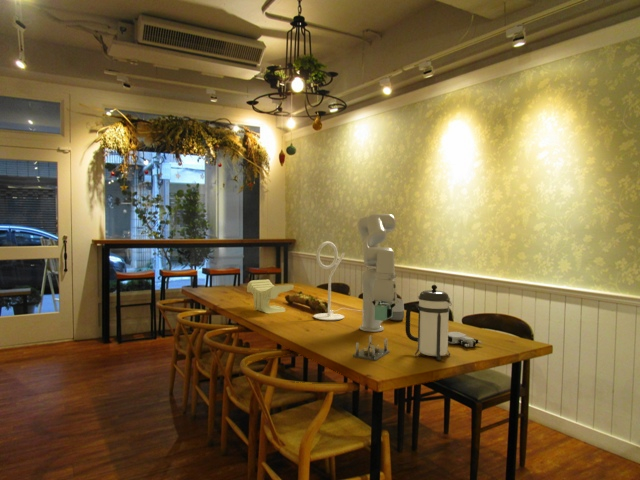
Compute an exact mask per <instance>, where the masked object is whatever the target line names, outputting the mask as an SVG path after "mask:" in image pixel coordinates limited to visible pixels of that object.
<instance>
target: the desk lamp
mask: <svg viewBox="0 0 640 480" xmlns="http://www.w3.org/2000/svg"><path fill="white" fill-rule="evenodd" d="M325 246H329V247H331V248H332V250H333V252H334V255H333V256H334V257H333V260H332V262H331V263H330V264H328V265H326V264H324V263H323V261H322V260H321V257H320V256H321V251H322V249H323V248H324V247H325ZM345 254H346V253H345V252H342V253H341V254H340V256H339V252H338V248H337V246H336V245H335V243H333V242H332V241H329V240H328V241H327V240H326V241H323V242H321V243H320V244H319V245H318V248H317V249H316V254H315V258H316V262H317V265H319V267H320V268H322V269H324V270H329V269H332V270H331V271H330V274H328V277H327V278H328V279H327V281H328V282H327V283H328V284H327V285H328V286H327V312H323V313H322V312H320V313H315V314H314V315H313V318H315V319H316V320H319V321H325V322H326V321H329V322H331V321H334V322H335V321H340V320H342V319H345V315H344V314H339V313H334V312H335V310H333V309H332V310H331V307H332V306H331V305H332V304H331V303H332V301H331V300H332V297H331V296H332V277H333V275H334V273H335V272H336V270H337V268H338V266H339V265H340V263H341V262H342V260H343V259H344V257H345ZM341 309H343V307H341V308H339V309H336V312H339V311H340V310H341ZM344 309H345V310H346V309H347V310H348V308H346V307H344ZM349 310H350V311H354V308H353V309H351V308H349ZM356 311H359V312H362V310H359V309H356Z"/></svg>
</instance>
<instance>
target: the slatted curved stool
mask: <svg viewBox="0 0 640 480" xmlns="http://www.w3.org/2000/svg"><path fill="white" fill-rule="evenodd" d="M294 286H295V285H294V284H286V285H285V284H282V285H275V284H273V283H272V282H271V280H270V279H254V280H250V281H249V282H248V283H247V285H246V288H247V289H246V292H247V293H251V294H252V295H253V297H252V298H253V307H254V309H255V310H256V311H259V312H261V313H262V312H263V313H265V314H274V313H275V314H276V313H282V312H283V313H284V312H286V308H285V307H282V306H278V305H269V304H270V301H271V300H275V299H278V295H280V294H281V293H286V292H289V291H291V290H294V288H295V287H294Z"/></svg>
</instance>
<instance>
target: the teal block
mask: <svg viewBox="0 0 640 480" xmlns="http://www.w3.org/2000/svg"><path fill="white" fill-rule="evenodd" d="M387 309H388V303H387V302H381V304H379V305H377V306H375V320H380V321H382V322H385V321H387V320H388V319H389V318H387ZM392 314H393V308H392ZM391 317H392V316H391ZM391 317H390V318H391ZM389 320H390V319H389Z"/></svg>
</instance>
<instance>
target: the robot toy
mask: <svg viewBox="0 0 640 480" xmlns="http://www.w3.org/2000/svg"><path fill="white" fill-rule="evenodd" d="M448 344H450V345H455V344H461V345H462V347H465V348H472V347H476V345H478V344H480V345H481V344H483V343H482V341H481V340H479V339H477V338H476V339H475V338H473V337H470V336H468V335H467V334H465V333H464V332H463V333H462V332H459V331H448Z"/></svg>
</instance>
